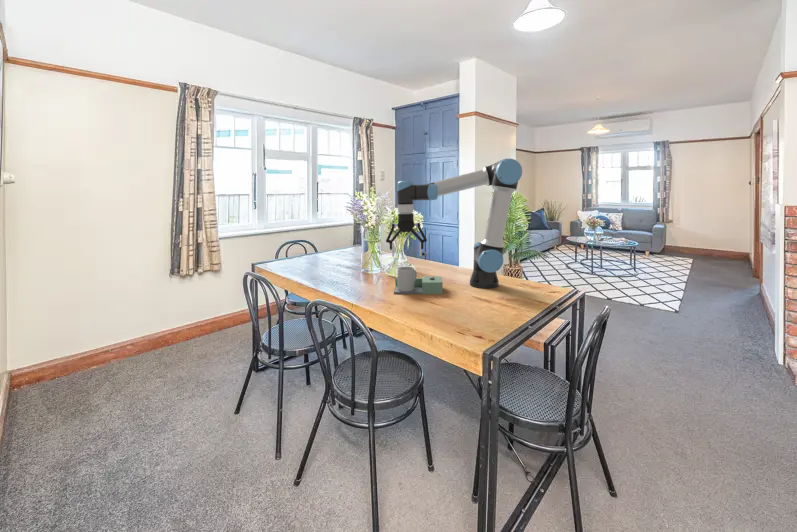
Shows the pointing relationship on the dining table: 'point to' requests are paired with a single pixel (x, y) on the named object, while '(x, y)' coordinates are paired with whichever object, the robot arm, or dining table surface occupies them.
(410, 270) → the mug
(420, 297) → the dining table surface
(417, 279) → the green stepped block
